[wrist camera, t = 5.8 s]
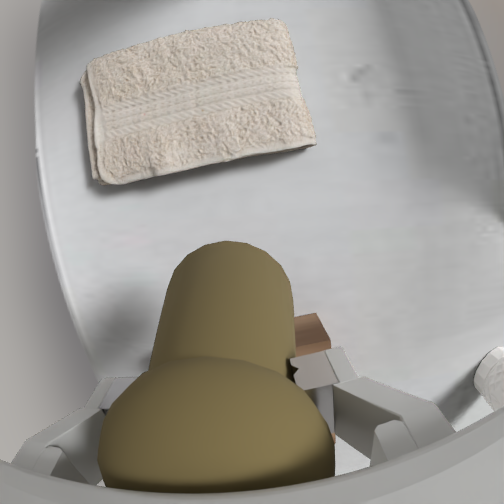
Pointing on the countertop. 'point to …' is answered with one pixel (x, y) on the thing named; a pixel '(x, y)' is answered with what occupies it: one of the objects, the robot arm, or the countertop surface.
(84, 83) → the washcloth
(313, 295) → the countertop surface
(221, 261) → the olive tapered upright piece
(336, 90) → the countertop surface
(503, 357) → the white cup
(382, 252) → the countertop surface
